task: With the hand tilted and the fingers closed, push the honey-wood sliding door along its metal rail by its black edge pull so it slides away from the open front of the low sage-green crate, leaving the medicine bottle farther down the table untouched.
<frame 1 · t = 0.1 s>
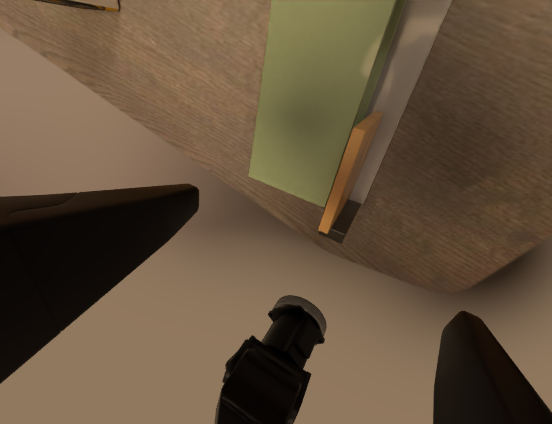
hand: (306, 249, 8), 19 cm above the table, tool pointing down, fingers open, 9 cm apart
sliding door: (357, 177, 21), point 5 cm above the table, slide at 0.0 cm
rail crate: (380, 110, 22), on the table
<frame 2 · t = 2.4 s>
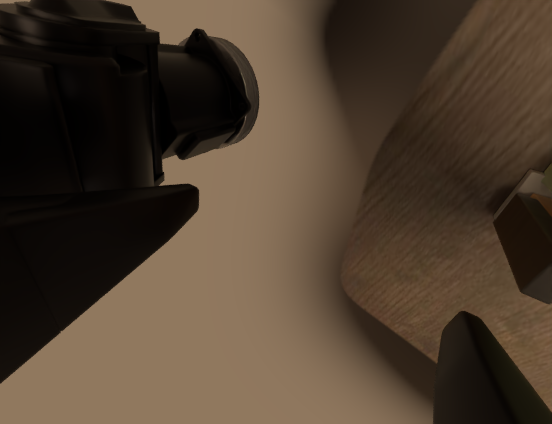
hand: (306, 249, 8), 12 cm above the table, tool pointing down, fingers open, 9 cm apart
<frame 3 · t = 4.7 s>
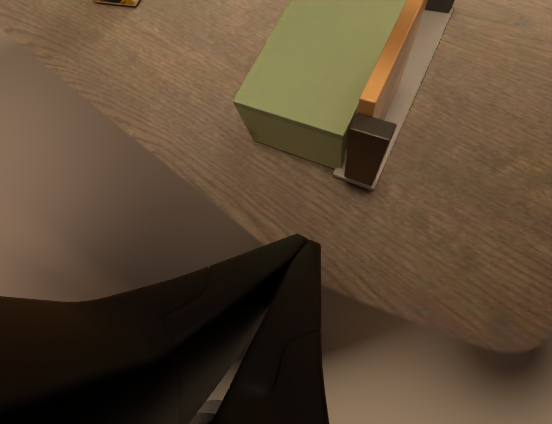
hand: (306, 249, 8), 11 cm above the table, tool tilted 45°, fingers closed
sliding door: (390, 100, 16), point 5 cm above the table, slide at 0.0 cm
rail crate: (391, 91, 21), on the table
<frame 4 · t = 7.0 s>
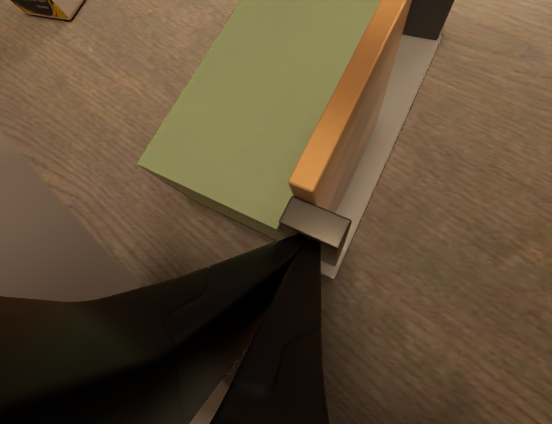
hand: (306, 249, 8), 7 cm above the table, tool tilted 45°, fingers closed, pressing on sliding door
sliding door: (357, 156, 11), point 5 cm above the table, slide at 0.9 cm, touching gripper
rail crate: (363, 140, 16), on the table
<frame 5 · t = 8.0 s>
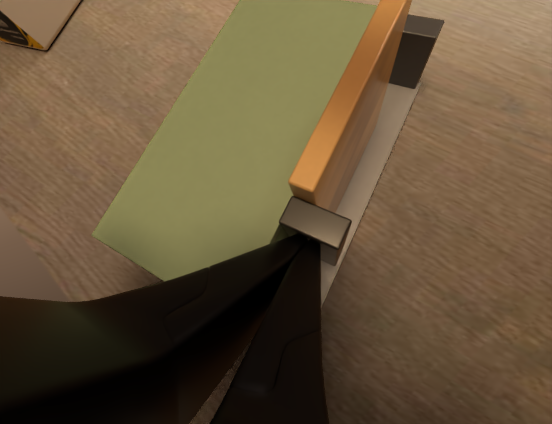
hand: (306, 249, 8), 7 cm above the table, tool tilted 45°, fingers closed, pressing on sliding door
sliding door: (357, 156, 11), point 5 cm above the table, slide at 4.9 cm, touching gripper
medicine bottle: (45, 22, 27), on the table
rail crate: (337, 195, 16), on the table
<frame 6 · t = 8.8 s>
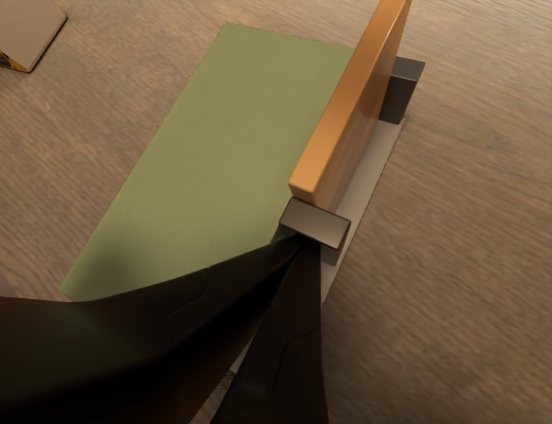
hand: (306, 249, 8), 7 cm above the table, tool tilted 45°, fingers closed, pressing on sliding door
sliding door: (357, 156, 11), point 5 cm above the table, slide at 7.6 cm, touching gripper
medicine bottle: (29, 42, 27), on the table
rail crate: (318, 235, 15), on the table
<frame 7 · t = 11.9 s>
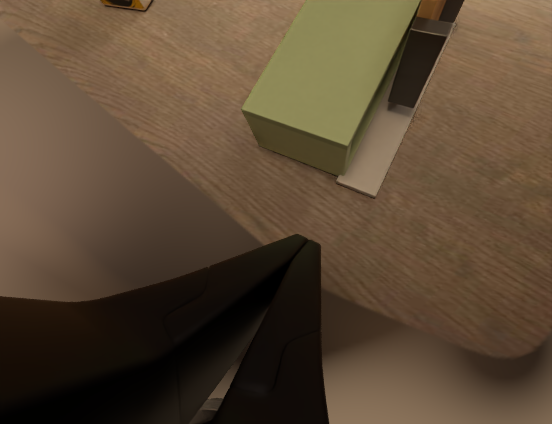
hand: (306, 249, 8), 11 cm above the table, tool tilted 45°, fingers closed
sliding door: (436, 23, 18), point 5 cm above the table, slide at 7.5 cm
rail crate: (394, 101, 22), on the table
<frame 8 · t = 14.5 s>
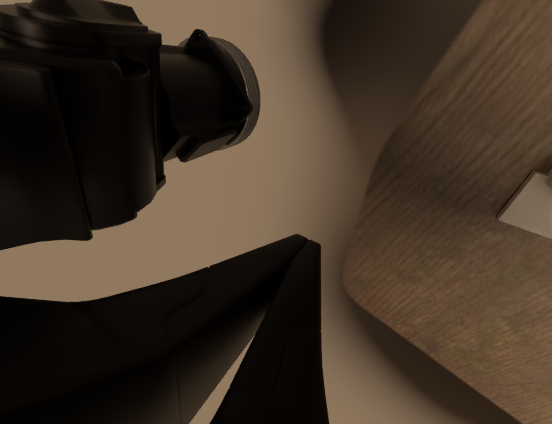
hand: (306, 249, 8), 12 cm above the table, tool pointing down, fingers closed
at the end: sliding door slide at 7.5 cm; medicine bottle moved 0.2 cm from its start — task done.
